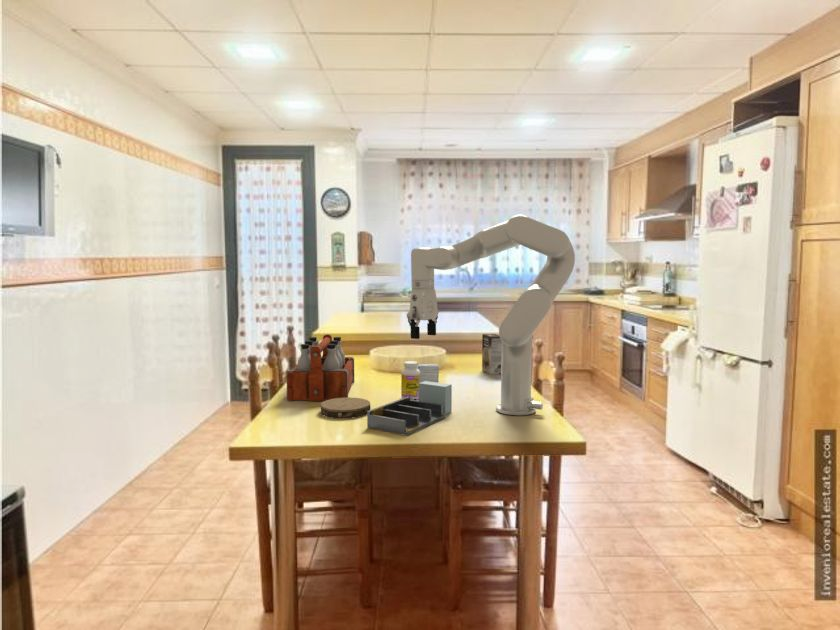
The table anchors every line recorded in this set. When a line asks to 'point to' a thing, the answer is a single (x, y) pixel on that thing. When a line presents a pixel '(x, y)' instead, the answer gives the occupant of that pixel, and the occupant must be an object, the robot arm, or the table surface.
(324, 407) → the round wood slice
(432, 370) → the medicine box
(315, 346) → the milk bottle holder
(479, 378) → the table surface
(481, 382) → the table surface
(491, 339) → the coffee box
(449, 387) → the panel
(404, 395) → the supplement bottle
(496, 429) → the table surface
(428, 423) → the rack
